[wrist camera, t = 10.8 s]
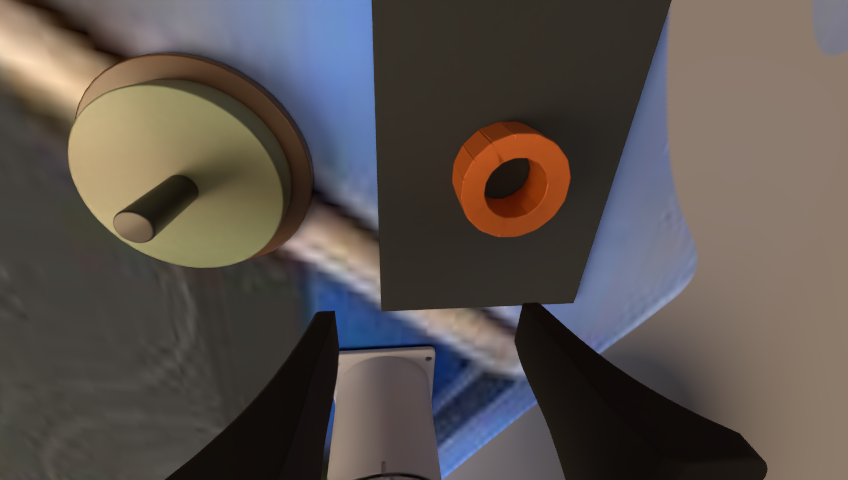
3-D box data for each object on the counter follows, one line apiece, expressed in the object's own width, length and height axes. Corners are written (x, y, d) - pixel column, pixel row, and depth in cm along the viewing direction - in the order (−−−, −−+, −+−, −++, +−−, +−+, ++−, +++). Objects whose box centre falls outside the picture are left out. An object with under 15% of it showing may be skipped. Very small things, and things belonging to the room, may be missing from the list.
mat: (569, 298, 26) (573, 303, 26) (381, 306, 25) (381, 311, 24) (676, -39, 16) (685, -42, 16) (370, -61, 15) (369, -64, 14)
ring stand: (323, 253, 22) (304, 328, 17) (134, 257, 21) (44, 341, 15) (299, 56, 17) (258, 70, 11) (40, 48, 16) (-155, 57, 10)
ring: (538, 215, 22) (556, 236, 20) (449, 216, 21) (456, 238, 19) (559, 121, 19) (583, 134, 17) (456, 120, 18) (467, 132, 16)
